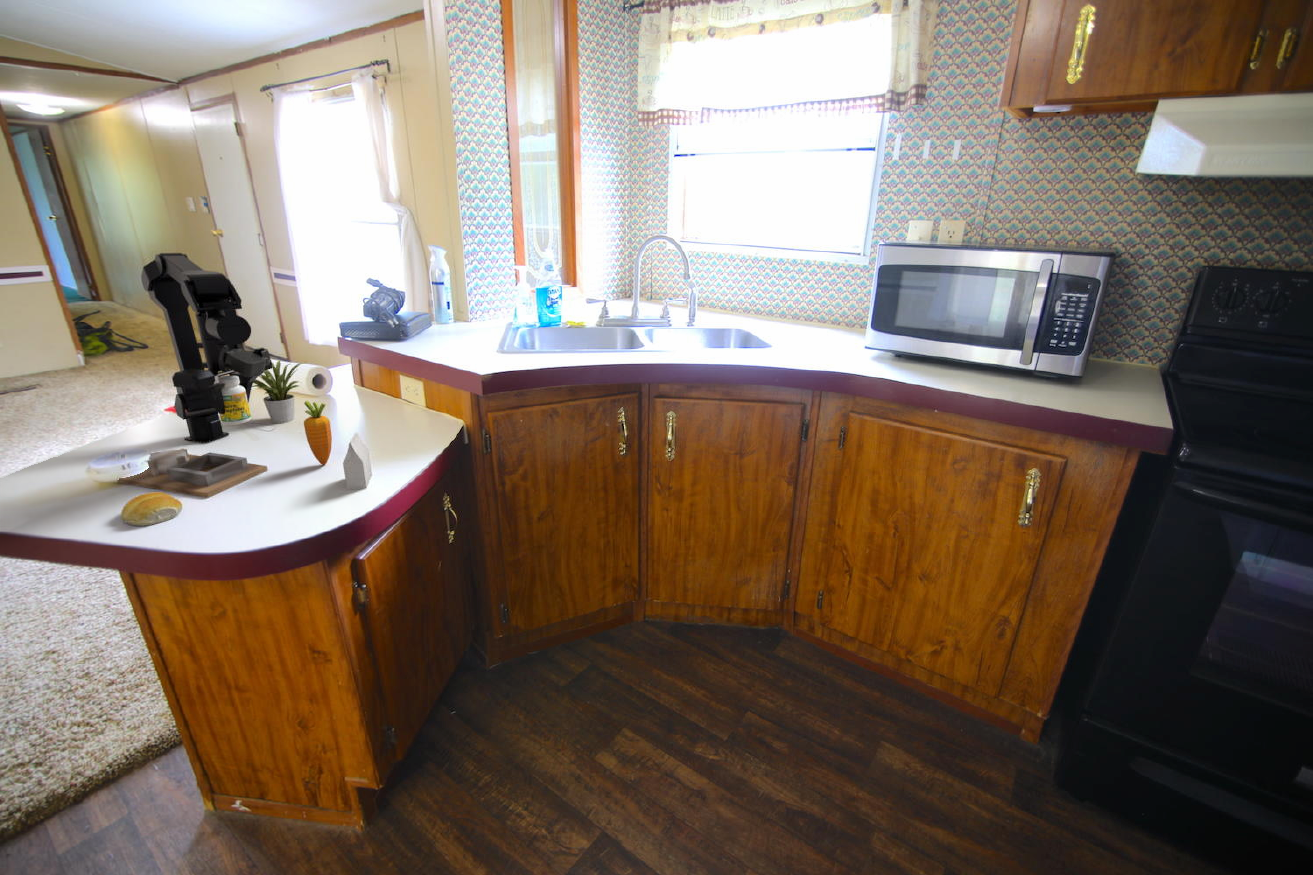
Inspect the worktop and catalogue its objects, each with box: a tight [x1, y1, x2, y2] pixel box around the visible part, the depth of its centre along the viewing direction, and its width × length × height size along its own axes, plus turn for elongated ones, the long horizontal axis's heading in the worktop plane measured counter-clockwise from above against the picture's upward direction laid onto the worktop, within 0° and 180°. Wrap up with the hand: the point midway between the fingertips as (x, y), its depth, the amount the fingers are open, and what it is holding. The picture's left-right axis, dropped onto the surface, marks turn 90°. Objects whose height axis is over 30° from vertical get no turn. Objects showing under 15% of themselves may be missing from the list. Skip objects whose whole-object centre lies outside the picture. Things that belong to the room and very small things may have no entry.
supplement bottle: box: [218, 375, 252, 426], centre depth 125 cm, size 5×5×10 cm
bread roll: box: [120, 491, 183, 527], centre depth 107 cm, size 8×9×4 cm
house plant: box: [252, 359, 307, 424], centre depth 156 cm, size 14×14×16 cm
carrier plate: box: [117, 448, 268, 499], centre depth 123 cm, size 22×14×4 cm, turn 77°
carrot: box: [303, 400, 333, 466], centre depth 129 cm, size 5×5×15 cm
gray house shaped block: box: [342, 432, 373, 490], centre depth 123 cm, size 4×7×10 cm, turn 16°
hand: (233, 409), depth 126 cm, fingers closed on supplement bottle, 5 cm apart
